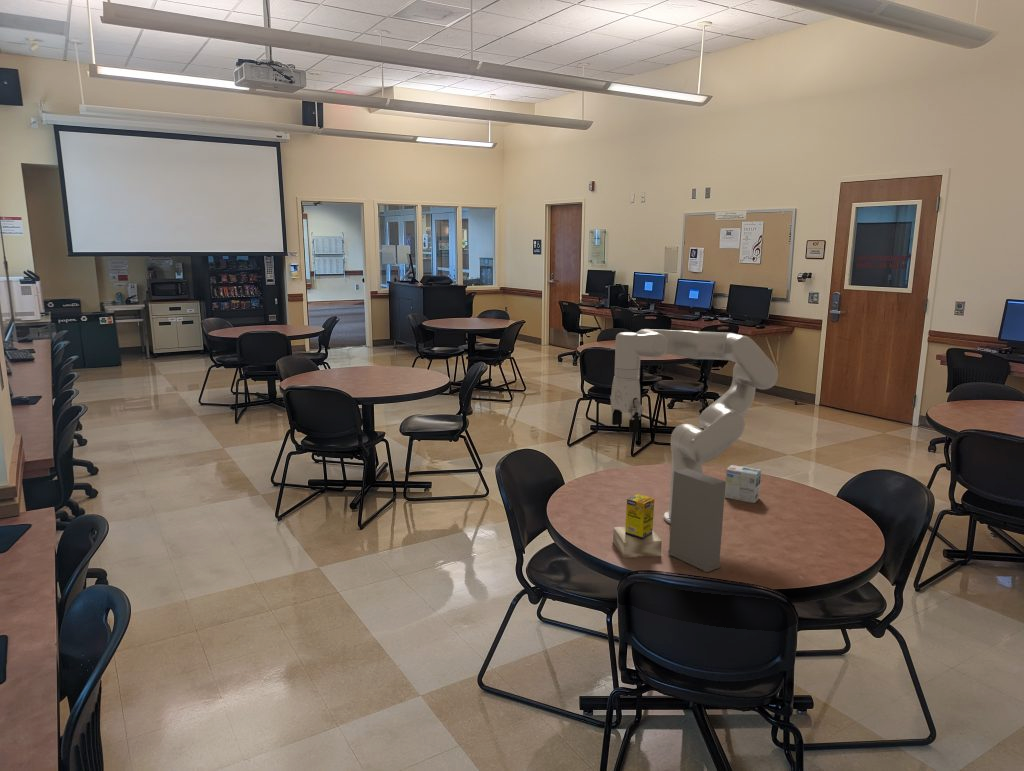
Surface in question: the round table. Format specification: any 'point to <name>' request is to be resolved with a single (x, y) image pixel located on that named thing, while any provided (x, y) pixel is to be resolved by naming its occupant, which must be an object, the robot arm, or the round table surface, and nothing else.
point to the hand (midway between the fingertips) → (625, 428)
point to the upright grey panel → (697, 519)
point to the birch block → (636, 544)
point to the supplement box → (639, 516)
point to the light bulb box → (742, 483)
